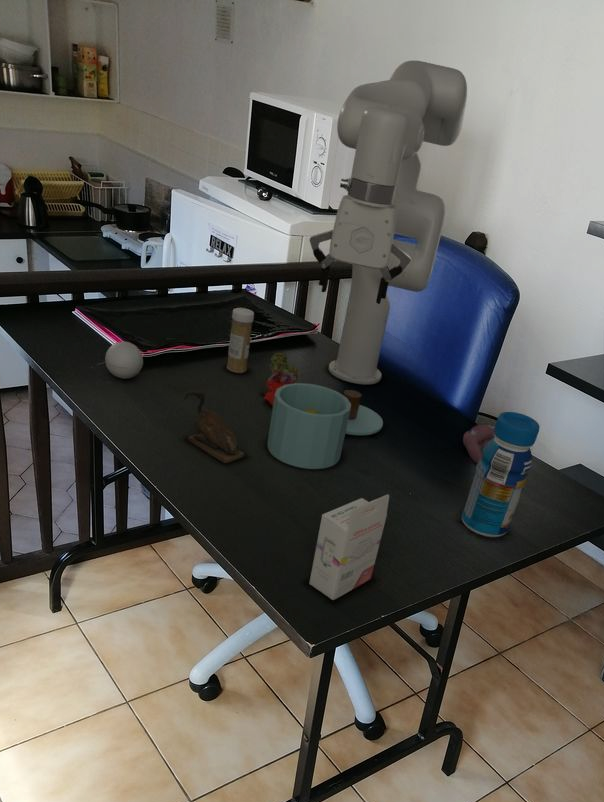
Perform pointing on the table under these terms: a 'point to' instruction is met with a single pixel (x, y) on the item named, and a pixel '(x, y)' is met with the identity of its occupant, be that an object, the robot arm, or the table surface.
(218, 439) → the figurine
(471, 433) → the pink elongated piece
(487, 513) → the beverage bottle
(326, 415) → the pot
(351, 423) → the lid
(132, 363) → the white sphere
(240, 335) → the sprinkles bottle
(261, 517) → the table surface
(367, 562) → the ink cartridge box
